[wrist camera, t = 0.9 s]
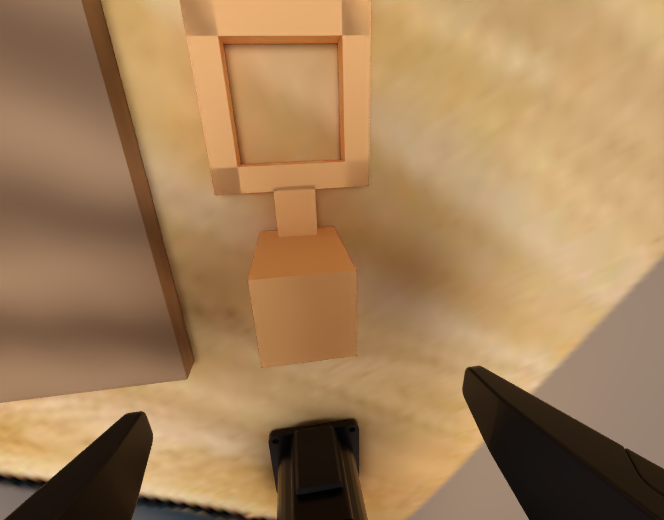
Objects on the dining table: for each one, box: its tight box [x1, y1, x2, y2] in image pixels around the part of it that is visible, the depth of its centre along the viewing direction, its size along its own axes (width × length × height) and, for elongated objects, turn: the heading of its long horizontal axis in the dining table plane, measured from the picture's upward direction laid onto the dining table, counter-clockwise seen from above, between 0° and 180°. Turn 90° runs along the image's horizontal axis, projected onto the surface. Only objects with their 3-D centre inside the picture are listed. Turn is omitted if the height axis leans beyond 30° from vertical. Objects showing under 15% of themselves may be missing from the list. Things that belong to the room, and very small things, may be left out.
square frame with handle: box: [180, 0, 371, 368], centre depth 13 cm, size 14×7×6 cm, turn 2°
